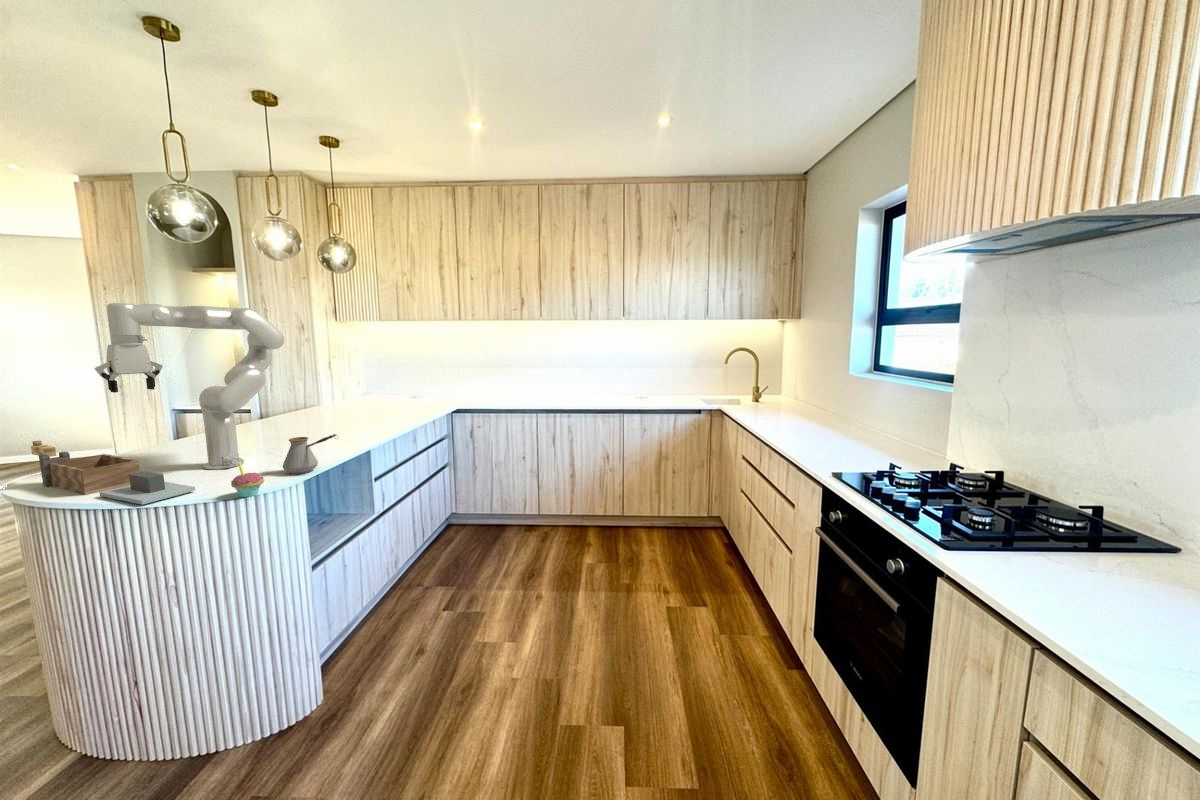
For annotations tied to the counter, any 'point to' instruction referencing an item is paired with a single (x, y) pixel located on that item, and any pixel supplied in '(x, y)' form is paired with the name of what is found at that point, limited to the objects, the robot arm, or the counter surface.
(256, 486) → the cupcake
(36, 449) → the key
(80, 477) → the chest
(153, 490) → the lid
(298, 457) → the coffee pot
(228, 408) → the robot arm
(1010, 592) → the counter surface
